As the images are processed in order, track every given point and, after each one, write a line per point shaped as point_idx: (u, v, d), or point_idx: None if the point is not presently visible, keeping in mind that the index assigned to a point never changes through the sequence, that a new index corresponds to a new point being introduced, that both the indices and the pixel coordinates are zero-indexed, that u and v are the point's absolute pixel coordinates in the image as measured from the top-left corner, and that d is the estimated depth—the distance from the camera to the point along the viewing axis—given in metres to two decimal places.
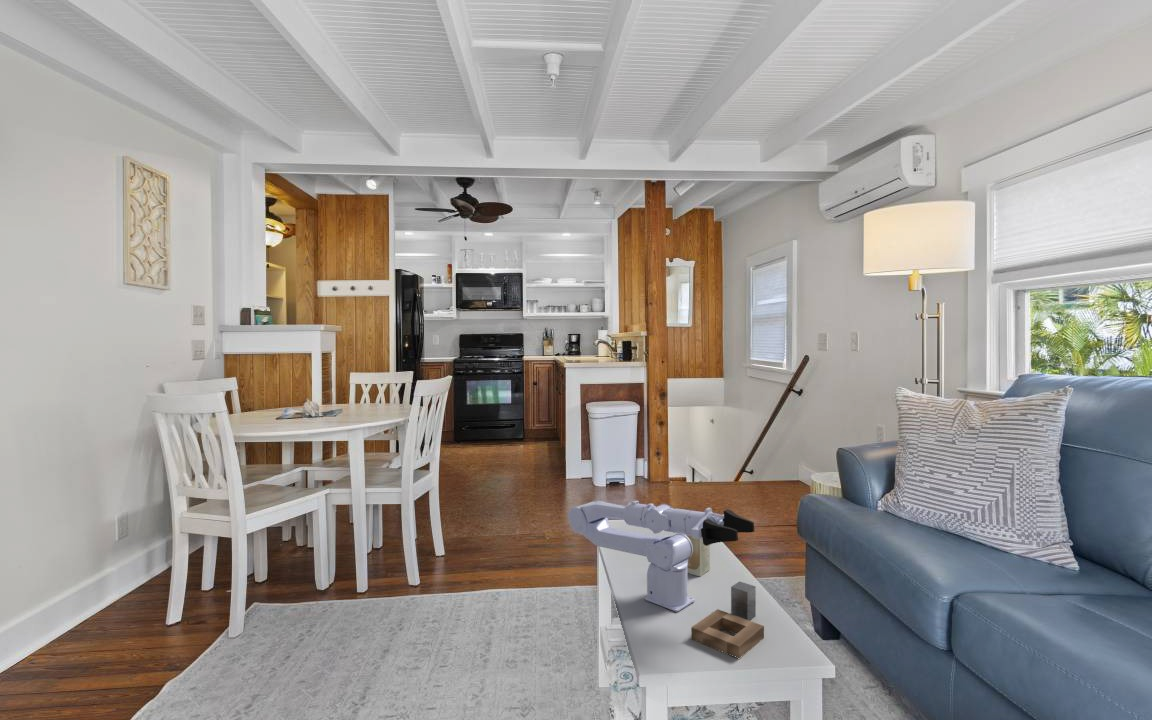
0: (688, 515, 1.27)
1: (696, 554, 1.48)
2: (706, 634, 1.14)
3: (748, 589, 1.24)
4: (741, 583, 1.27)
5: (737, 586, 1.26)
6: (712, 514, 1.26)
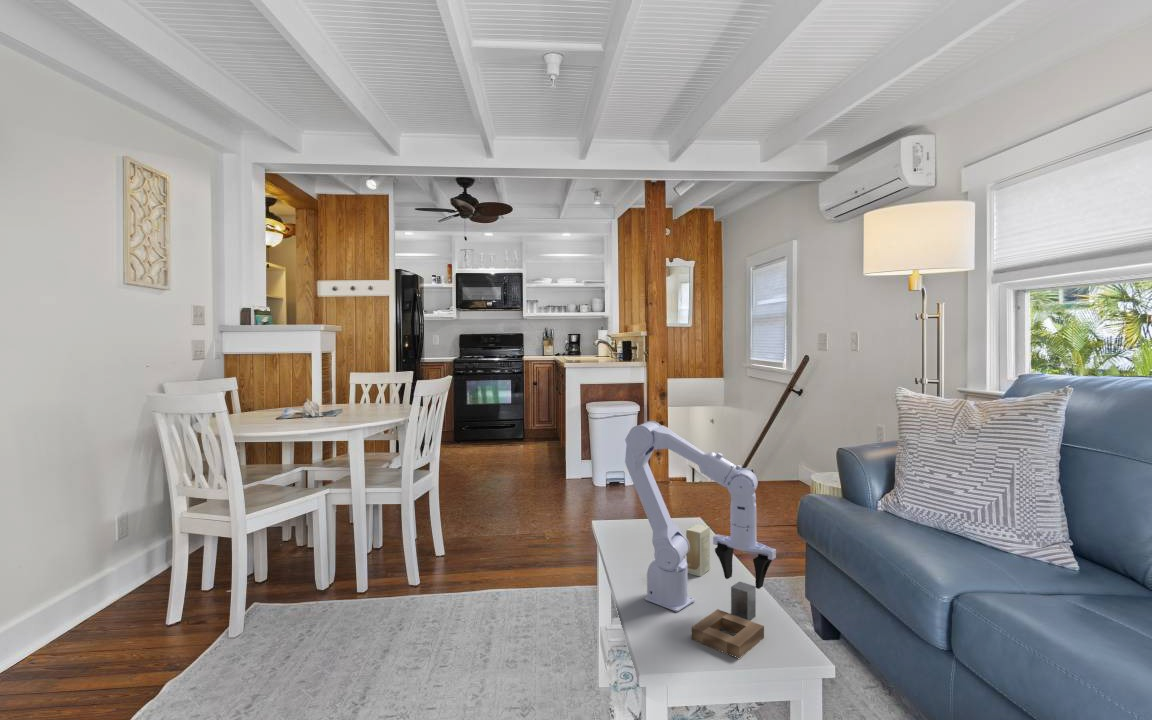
0: None
1: (696, 554, 1.48)
2: (706, 634, 1.14)
3: (748, 589, 1.24)
4: (741, 583, 1.27)
5: (737, 586, 1.26)
6: None
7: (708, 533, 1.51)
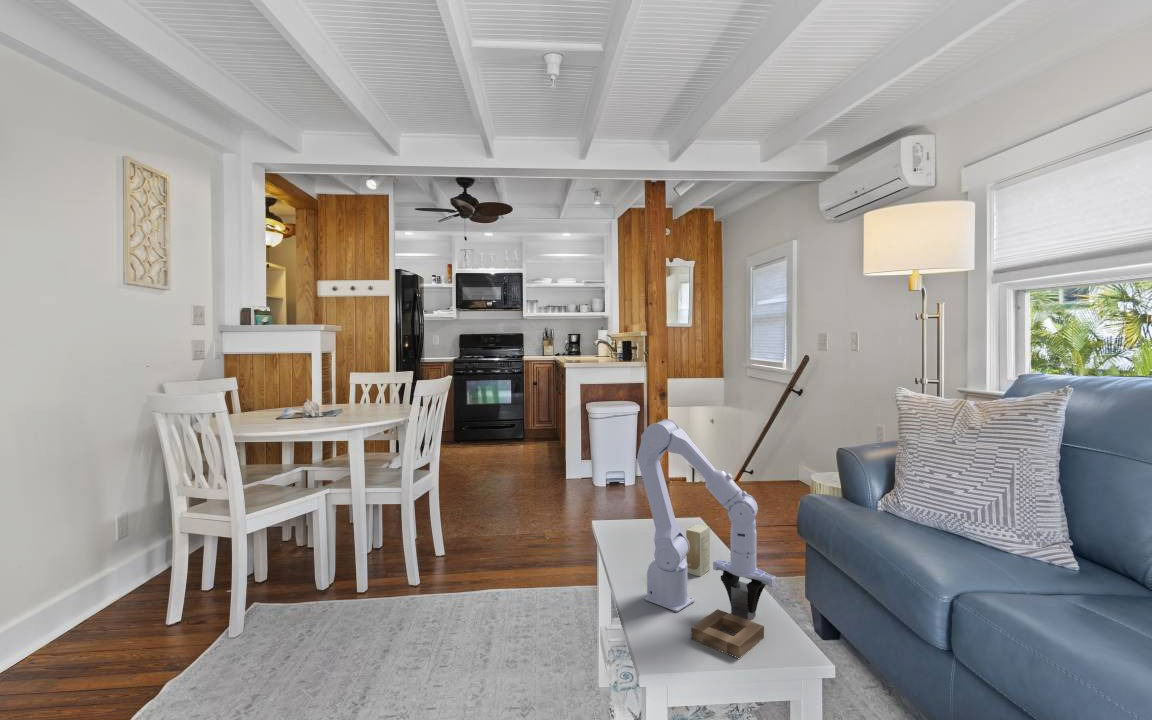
0: None
1: (696, 554, 1.48)
2: (706, 634, 1.14)
3: None
4: (741, 583, 1.27)
5: (737, 586, 1.26)
6: None
7: (708, 533, 1.51)
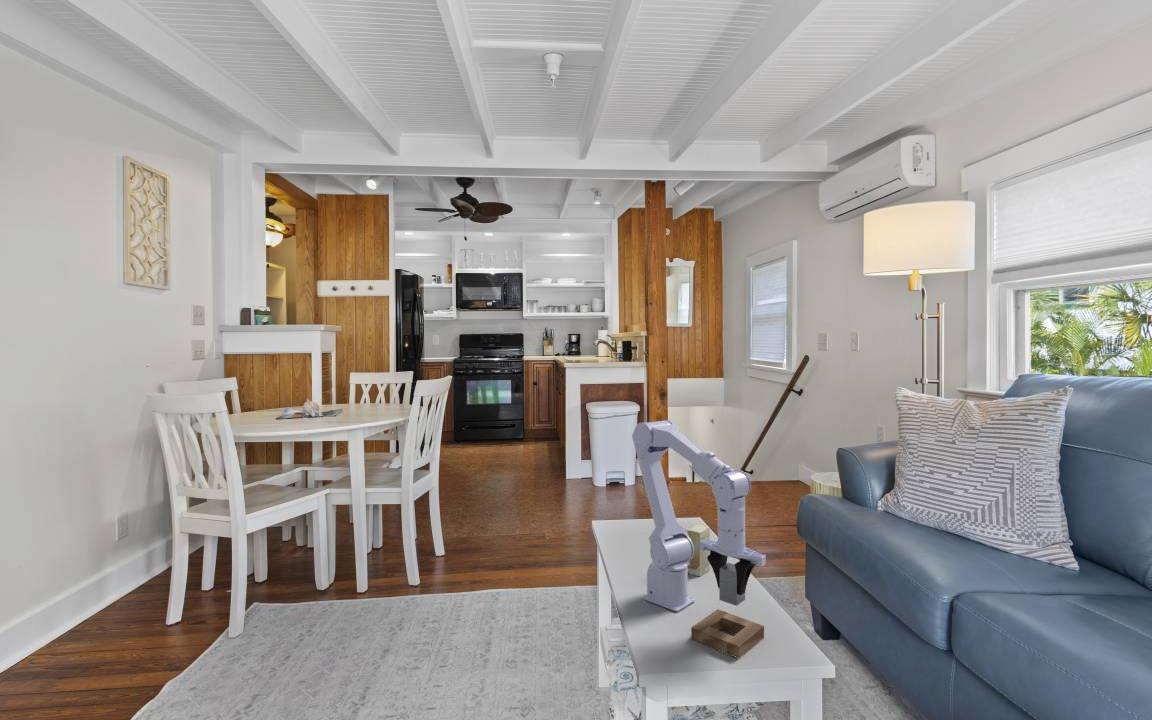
0: None
1: (696, 554, 1.48)
2: (706, 634, 1.14)
3: None
4: (730, 564, 1.20)
5: (726, 567, 1.18)
6: None
7: (708, 533, 1.51)
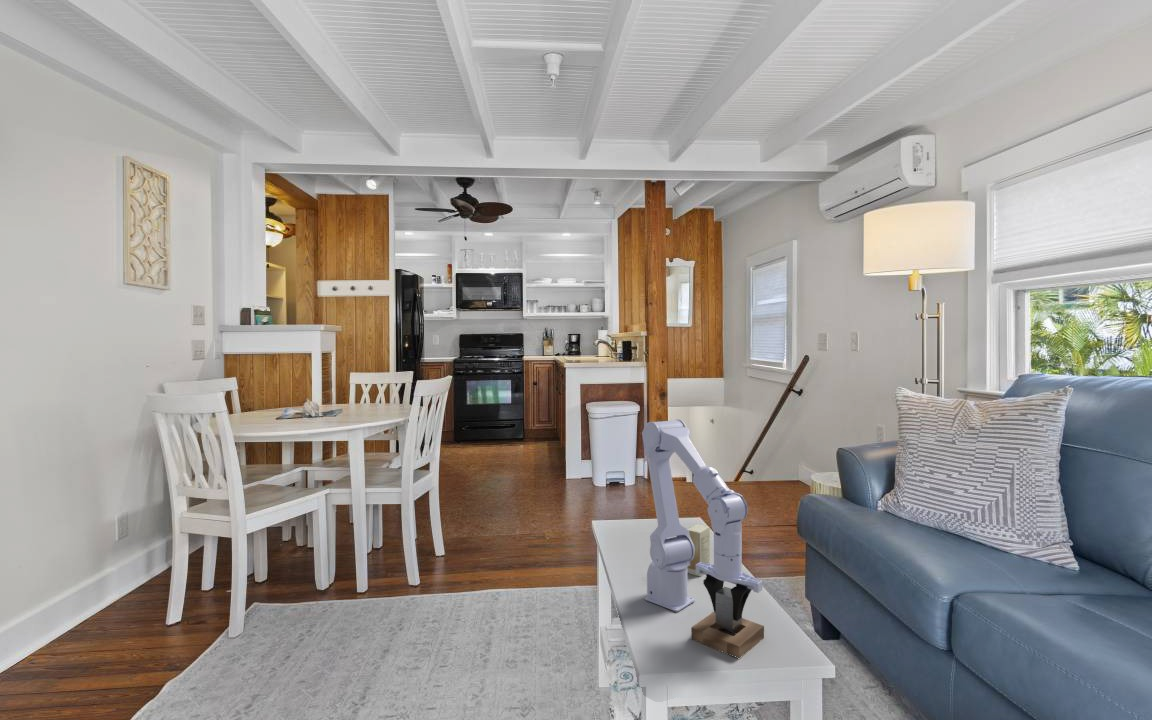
0: None
1: (696, 554, 1.48)
2: (706, 634, 1.14)
3: None
4: (727, 588, 1.18)
5: (722, 592, 1.17)
6: None
7: (708, 533, 1.51)
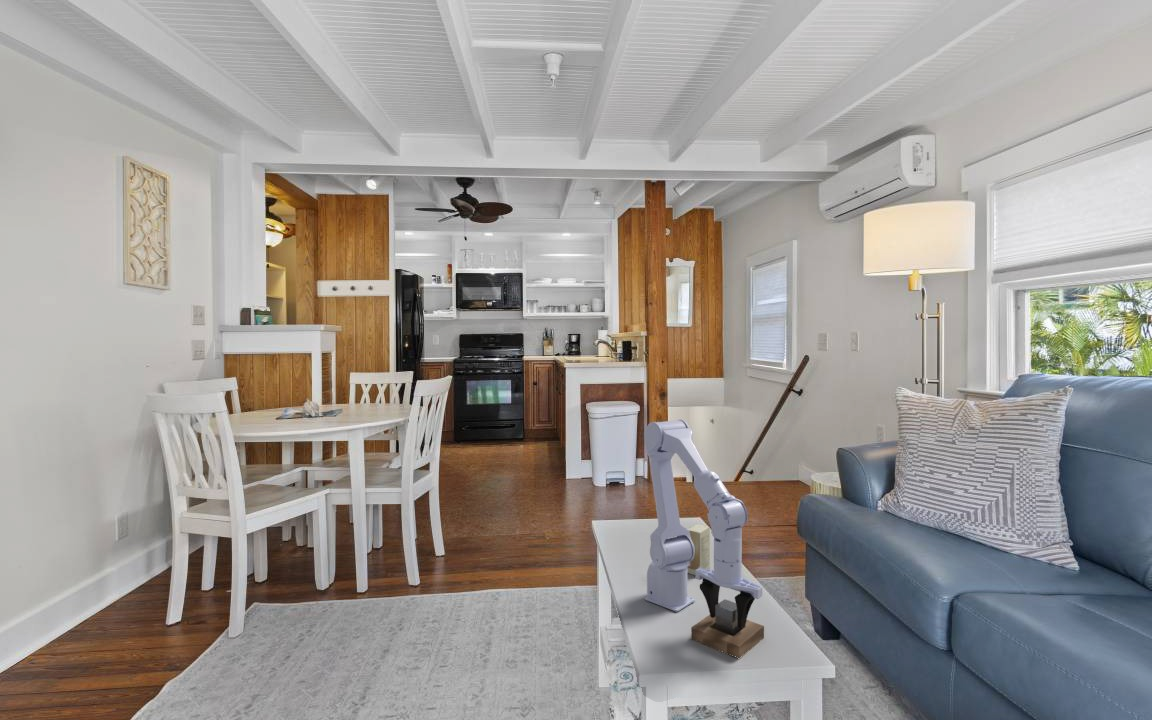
0: None
1: (696, 554, 1.48)
2: (706, 634, 1.14)
3: (734, 609, 1.15)
4: (726, 601, 1.18)
5: (722, 605, 1.17)
6: None
7: (708, 533, 1.51)
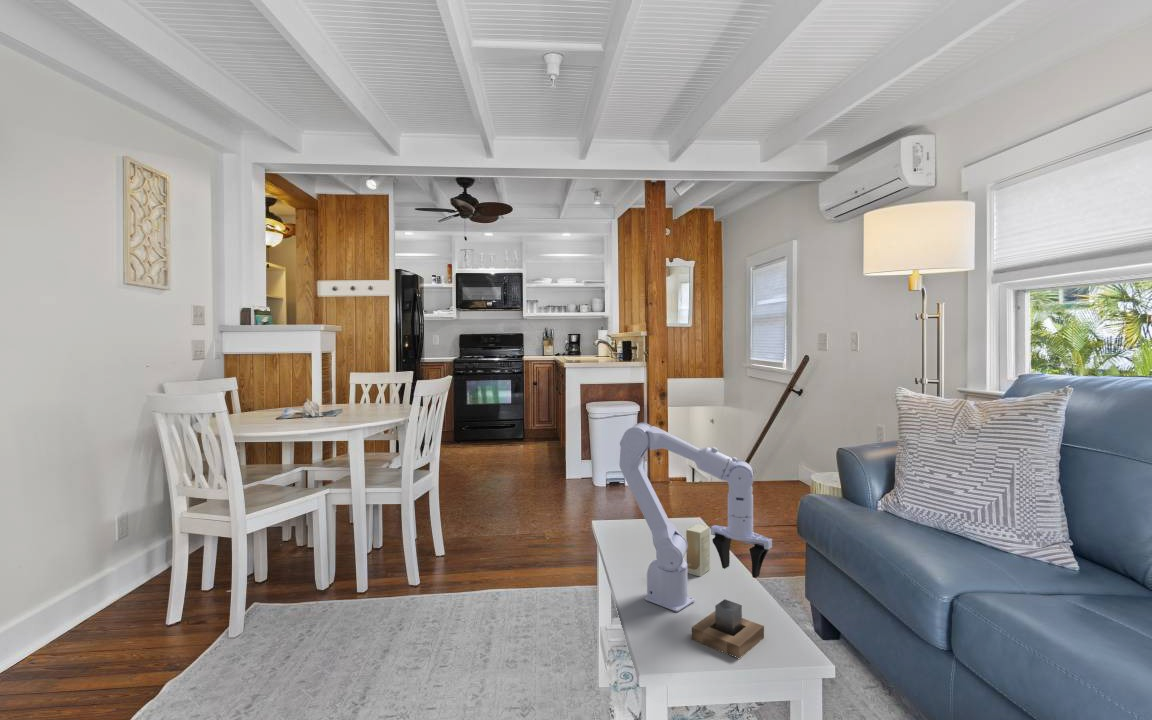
0: None
1: (696, 554, 1.48)
2: (706, 634, 1.14)
3: (734, 609, 1.15)
4: (726, 601, 1.18)
5: (722, 605, 1.17)
6: None
7: (708, 533, 1.51)
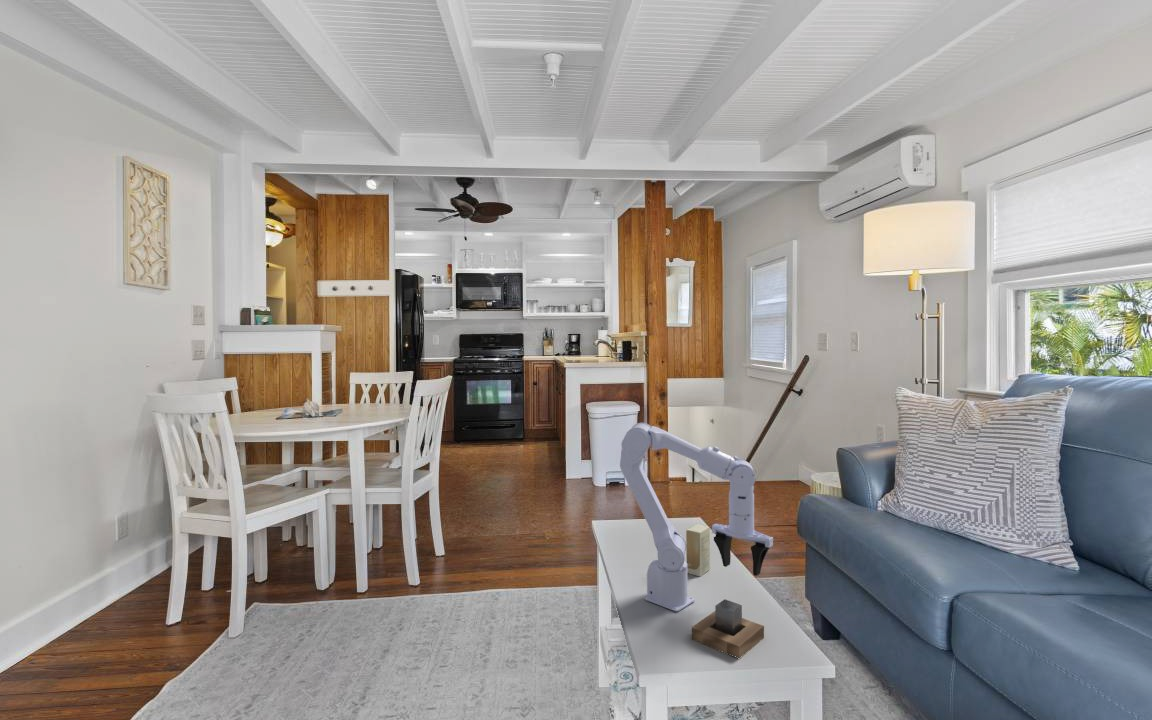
0: None
1: (696, 554, 1.48)
2: (706, 634, 1.14)
3: (734, 609, 1.15)
4: (726, 601, 1.18)
5: (722, 605, 1.17)
6: None
7: (708, 533, 1.51)
